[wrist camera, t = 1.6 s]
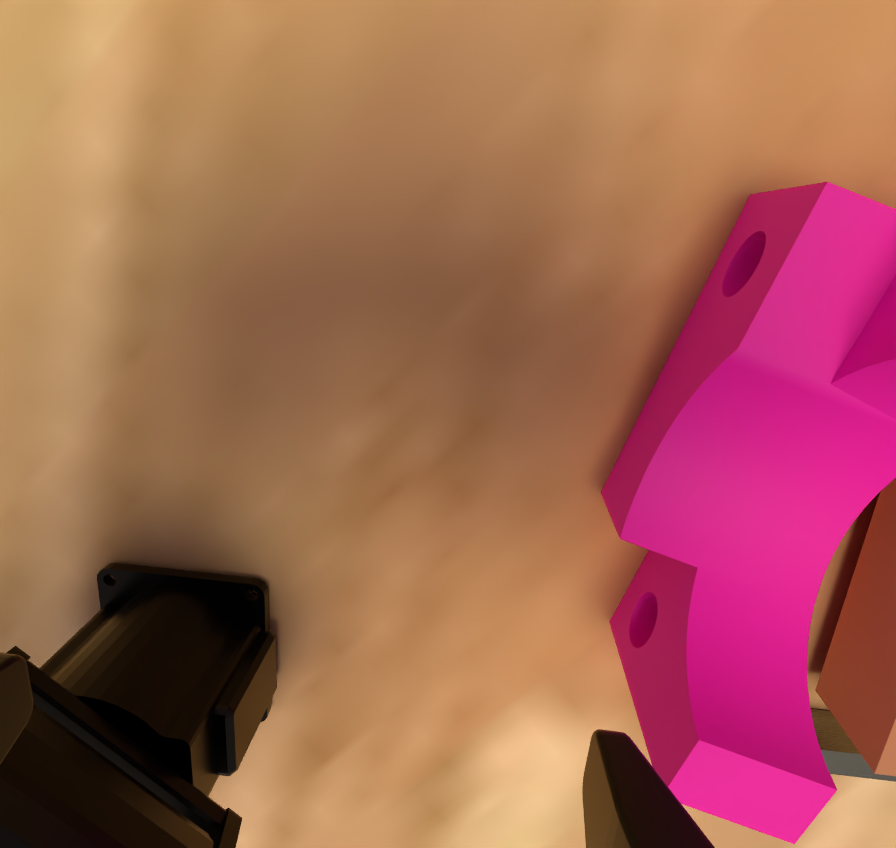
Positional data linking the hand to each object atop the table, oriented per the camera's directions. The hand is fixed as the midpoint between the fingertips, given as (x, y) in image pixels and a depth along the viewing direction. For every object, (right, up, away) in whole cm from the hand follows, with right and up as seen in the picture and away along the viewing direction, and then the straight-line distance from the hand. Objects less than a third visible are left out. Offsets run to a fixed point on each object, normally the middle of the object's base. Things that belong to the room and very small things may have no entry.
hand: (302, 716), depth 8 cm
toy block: (+11, +3, +12) cm, 17 cm away
